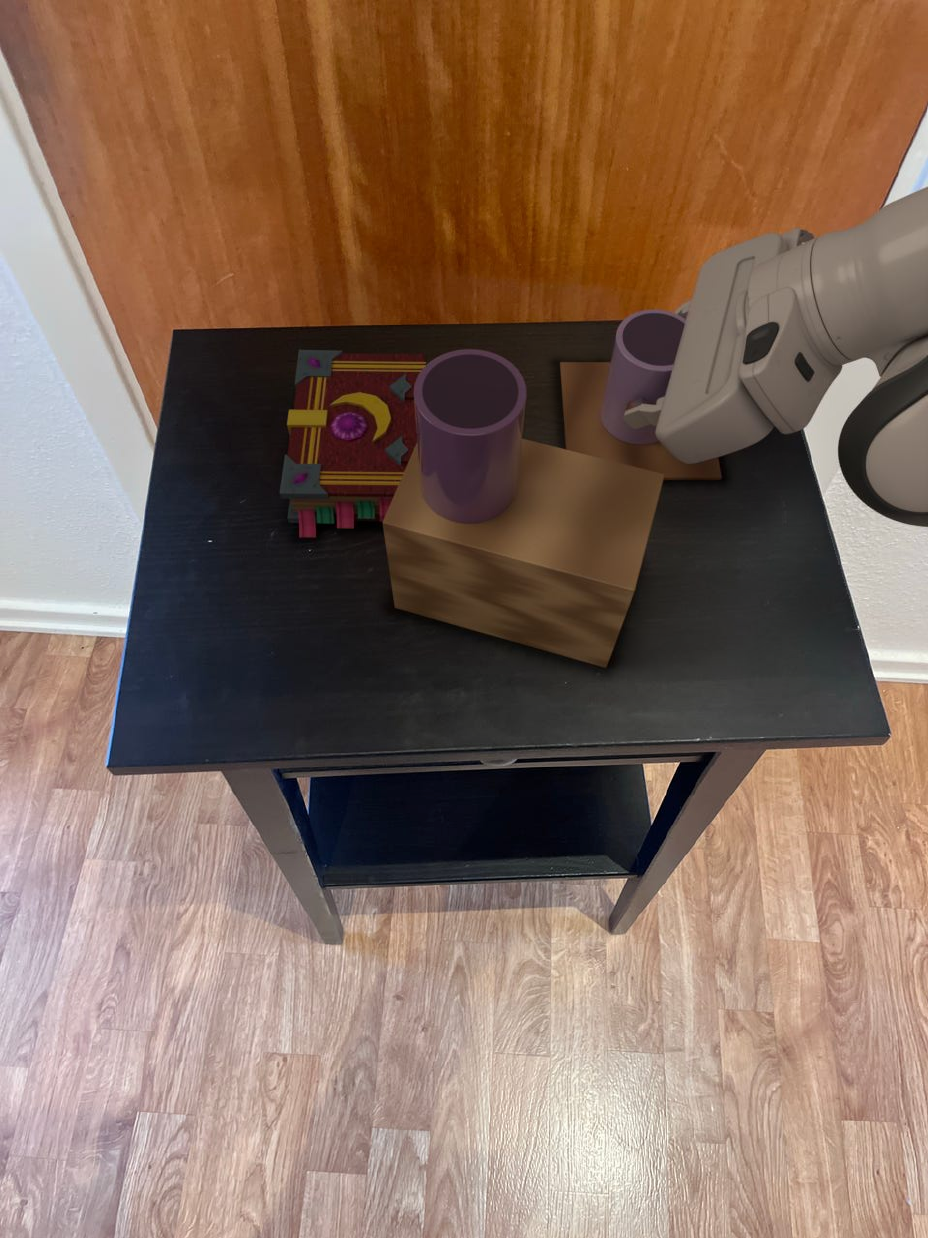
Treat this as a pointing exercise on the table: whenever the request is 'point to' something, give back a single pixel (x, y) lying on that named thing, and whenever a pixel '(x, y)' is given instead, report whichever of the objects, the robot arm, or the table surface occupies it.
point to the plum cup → (469, 434)
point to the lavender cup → (640, 369)
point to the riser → (530, 554)
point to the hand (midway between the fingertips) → (640, 378)
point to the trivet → (593, 439)
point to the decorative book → (348, 436)
